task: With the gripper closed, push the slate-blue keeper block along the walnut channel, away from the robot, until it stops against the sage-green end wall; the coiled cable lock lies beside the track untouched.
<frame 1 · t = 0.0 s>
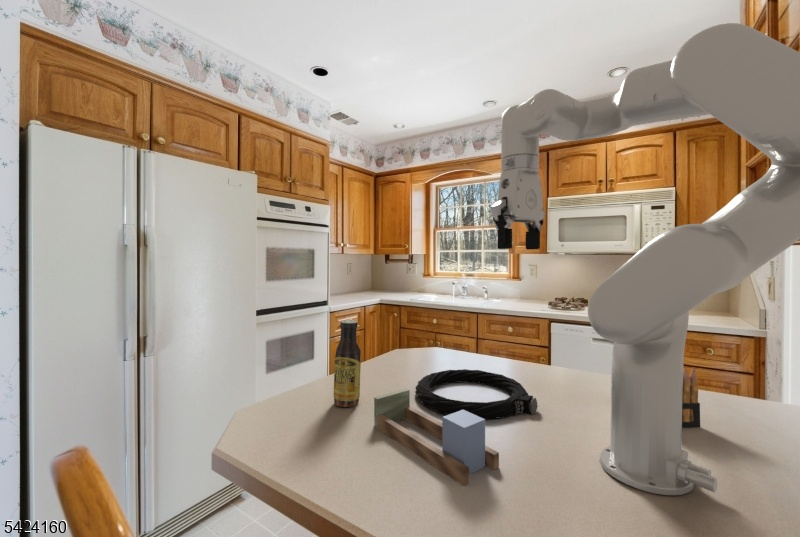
hand: (519, 249, 77), 37 cm above the counter, tool pointing down, fingers open, 9 cm apart
keeper: (463, 441, 61), point 4 cm above the counter, slide at 0.0 cm
cable lock: (474, 400, 91), on the counter
track: (431, 445, 68), on the counter
sauce bottle: (347, 404, 88), on the counter
ammunition clip: (672, 427, 76), on the counter
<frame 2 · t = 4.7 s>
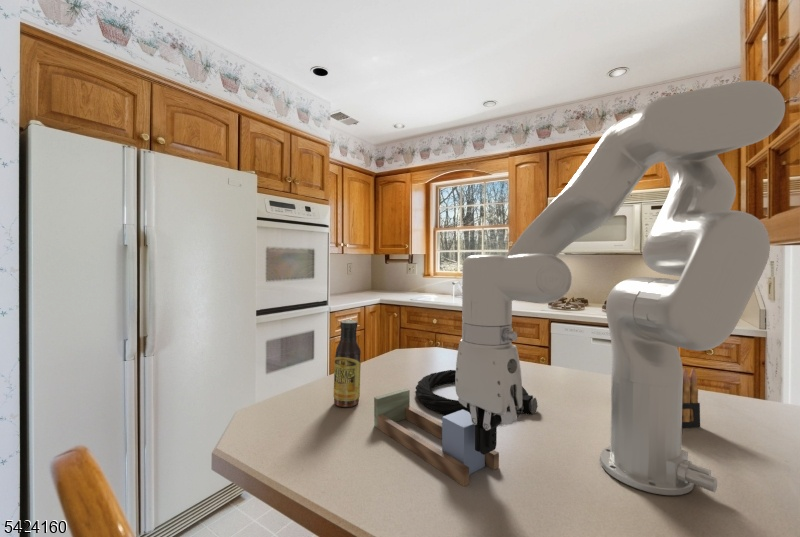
hand: (485, 449, 57), 5 cm above the counter, tool pointing down, fingers closed
keeper: (463, 441, 61), point 4 cm above the counter, slide at 0.1 cm, touching gripper
everything else where it was.
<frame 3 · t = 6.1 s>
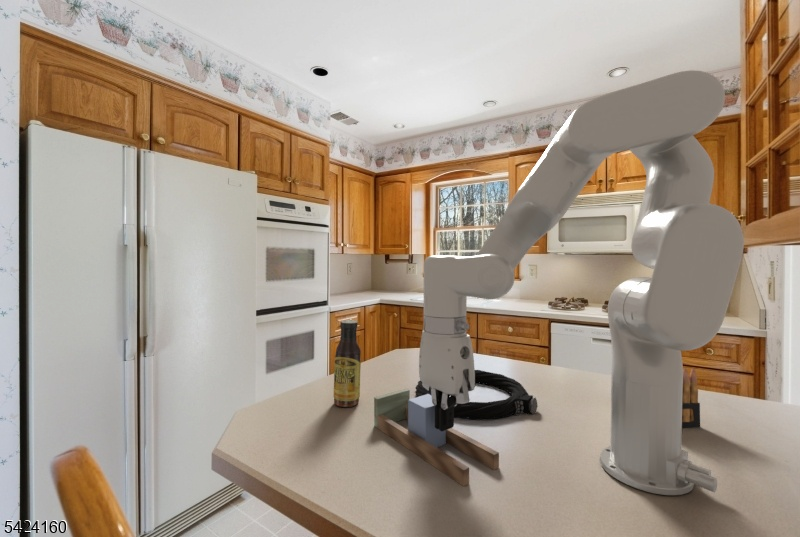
hand: (444, 427, 65), 5 cm above the counter, tool pointing down, fingers closed
keeper: (426, 421, 69), point 4 cm above the counter, slide at 9.4 cm, touching gripper
everything else where it was.
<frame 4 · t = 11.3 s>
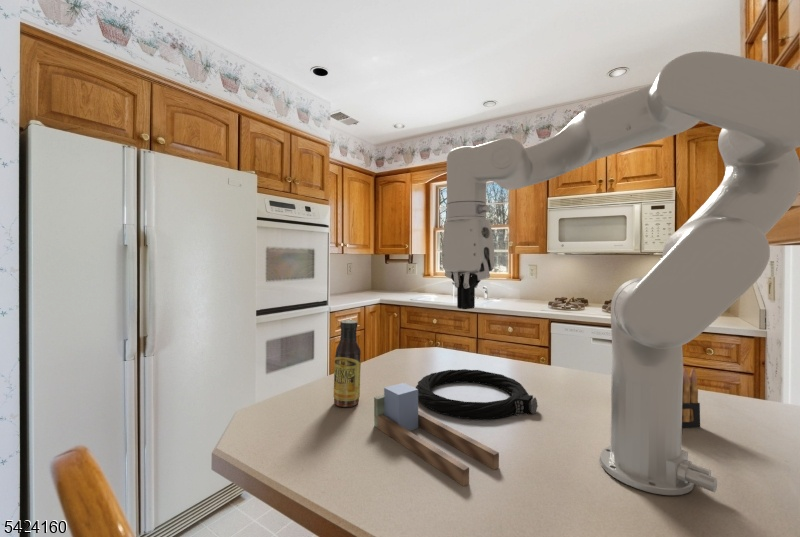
hand: (465, 308, 71), 25 cm above the counter, tool pointing down, fingers closed
keeper: (401, 407, 75), point 4 cm above the counter, slide at 17.5 cm
everything else where it was.
at the end: keeper slide at 17.5 cm; keeper 0.8 cm from the target spot on the track, point 4.0 cm above the track's base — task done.
